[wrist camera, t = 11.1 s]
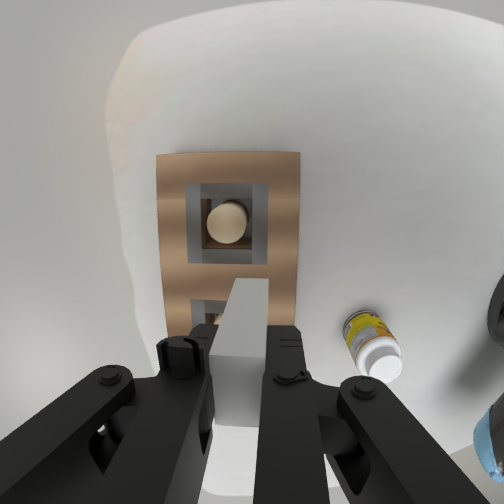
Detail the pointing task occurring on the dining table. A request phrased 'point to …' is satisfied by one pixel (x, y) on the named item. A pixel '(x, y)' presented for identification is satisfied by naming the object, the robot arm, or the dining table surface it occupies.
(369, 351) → the supplement bottle
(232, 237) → the beige round peg
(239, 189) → the socket block
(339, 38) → the dining table surface
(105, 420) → the robot arm
